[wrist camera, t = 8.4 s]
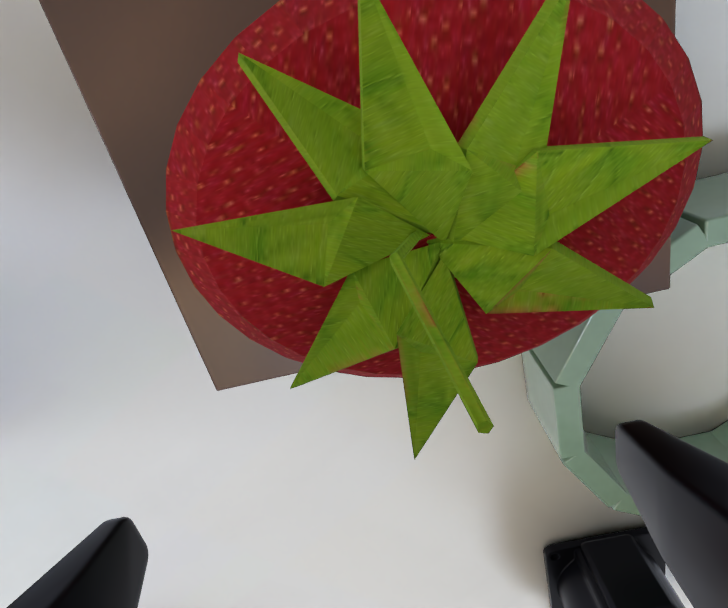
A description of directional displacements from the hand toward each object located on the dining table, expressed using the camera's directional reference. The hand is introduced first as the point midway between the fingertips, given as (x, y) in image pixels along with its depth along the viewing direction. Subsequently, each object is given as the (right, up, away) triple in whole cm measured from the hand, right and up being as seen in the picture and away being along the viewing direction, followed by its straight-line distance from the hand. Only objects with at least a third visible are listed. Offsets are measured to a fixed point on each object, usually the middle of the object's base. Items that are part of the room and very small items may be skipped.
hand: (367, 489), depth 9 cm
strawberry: (+1, +7, +4) cm, 8 cm away
